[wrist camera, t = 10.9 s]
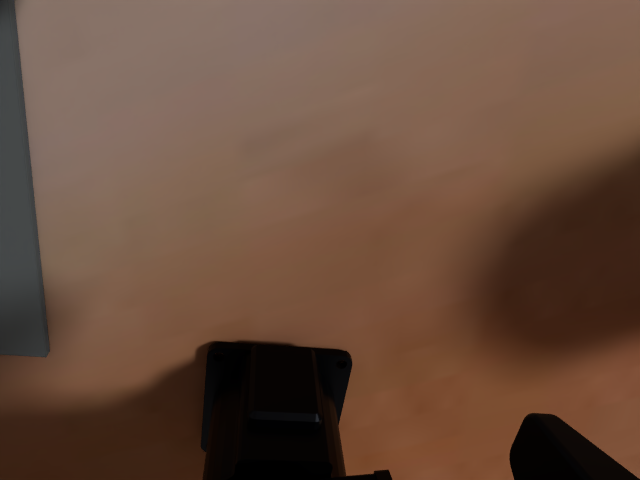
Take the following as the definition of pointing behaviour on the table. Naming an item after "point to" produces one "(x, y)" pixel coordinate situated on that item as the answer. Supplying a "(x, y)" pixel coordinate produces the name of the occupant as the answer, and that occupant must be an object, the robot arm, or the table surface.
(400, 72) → the table surface
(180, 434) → the table surface
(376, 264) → the table surface
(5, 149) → the mat
